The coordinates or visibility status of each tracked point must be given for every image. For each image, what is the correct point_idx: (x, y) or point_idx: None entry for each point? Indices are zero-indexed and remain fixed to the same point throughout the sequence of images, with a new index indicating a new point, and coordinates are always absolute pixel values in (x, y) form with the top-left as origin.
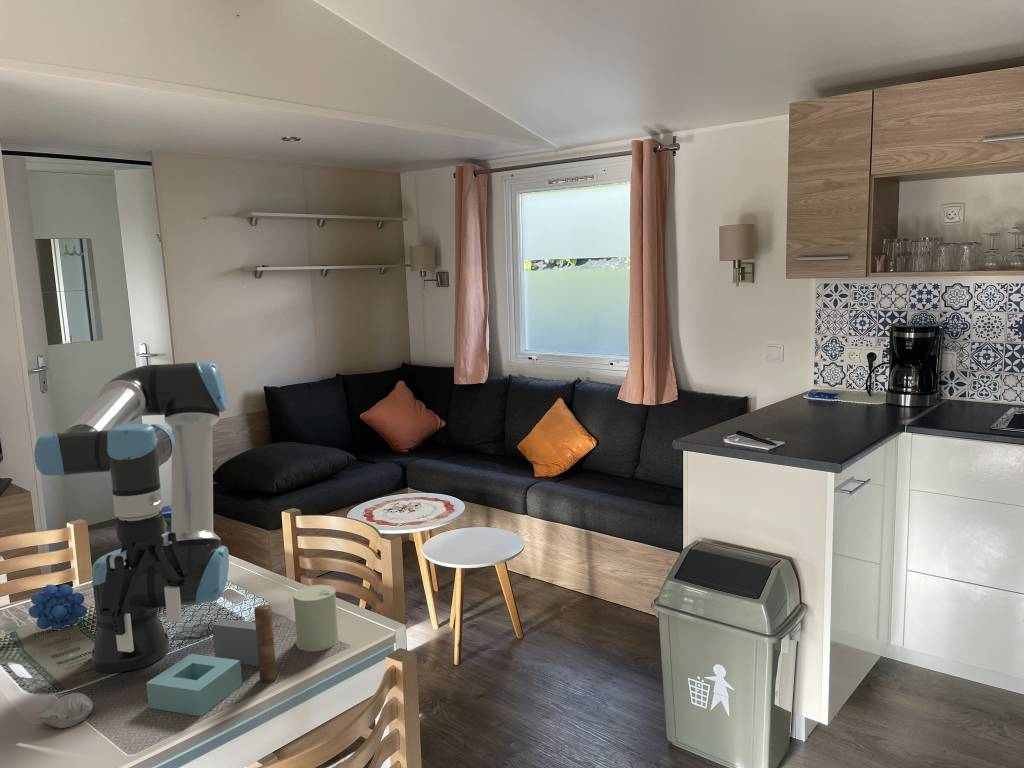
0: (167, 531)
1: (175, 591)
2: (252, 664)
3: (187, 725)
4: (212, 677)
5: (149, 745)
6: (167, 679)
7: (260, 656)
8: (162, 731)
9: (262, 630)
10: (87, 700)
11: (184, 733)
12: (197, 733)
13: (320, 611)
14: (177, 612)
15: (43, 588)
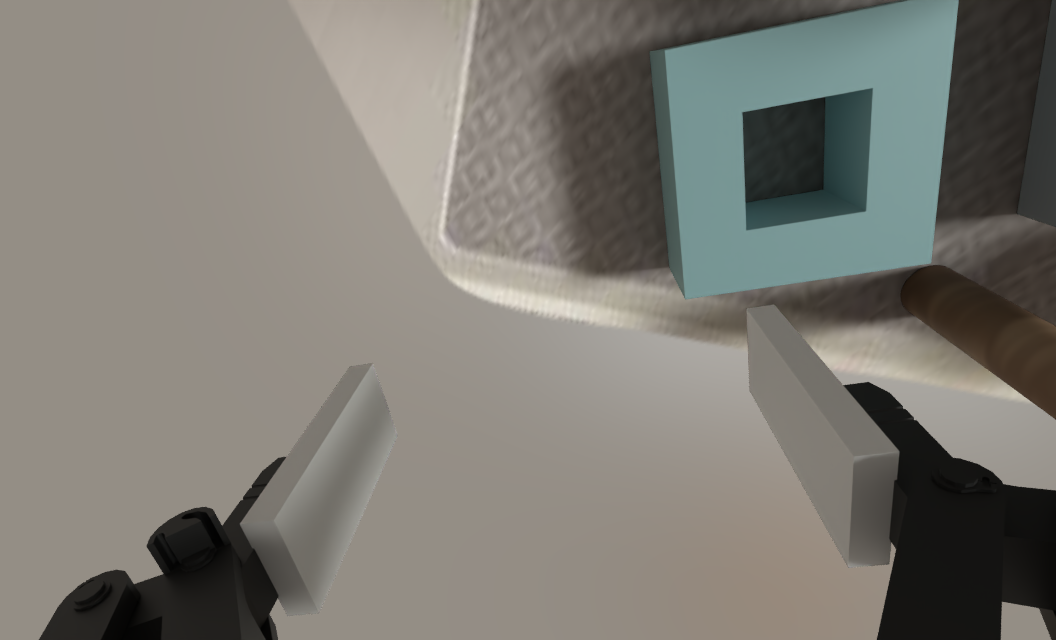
0: None
1: (834, 537)
2: (1027, 164)
3: (616, 267)
4: (780, 269)
5: (498, 251)
6: (717, 113)
7: (960, 330)
8: (563, 225)
9: (1040, 404)
10: None
11: (582, 292)
12: (596, 323)
13: None
14: (771, 419)
15: None
